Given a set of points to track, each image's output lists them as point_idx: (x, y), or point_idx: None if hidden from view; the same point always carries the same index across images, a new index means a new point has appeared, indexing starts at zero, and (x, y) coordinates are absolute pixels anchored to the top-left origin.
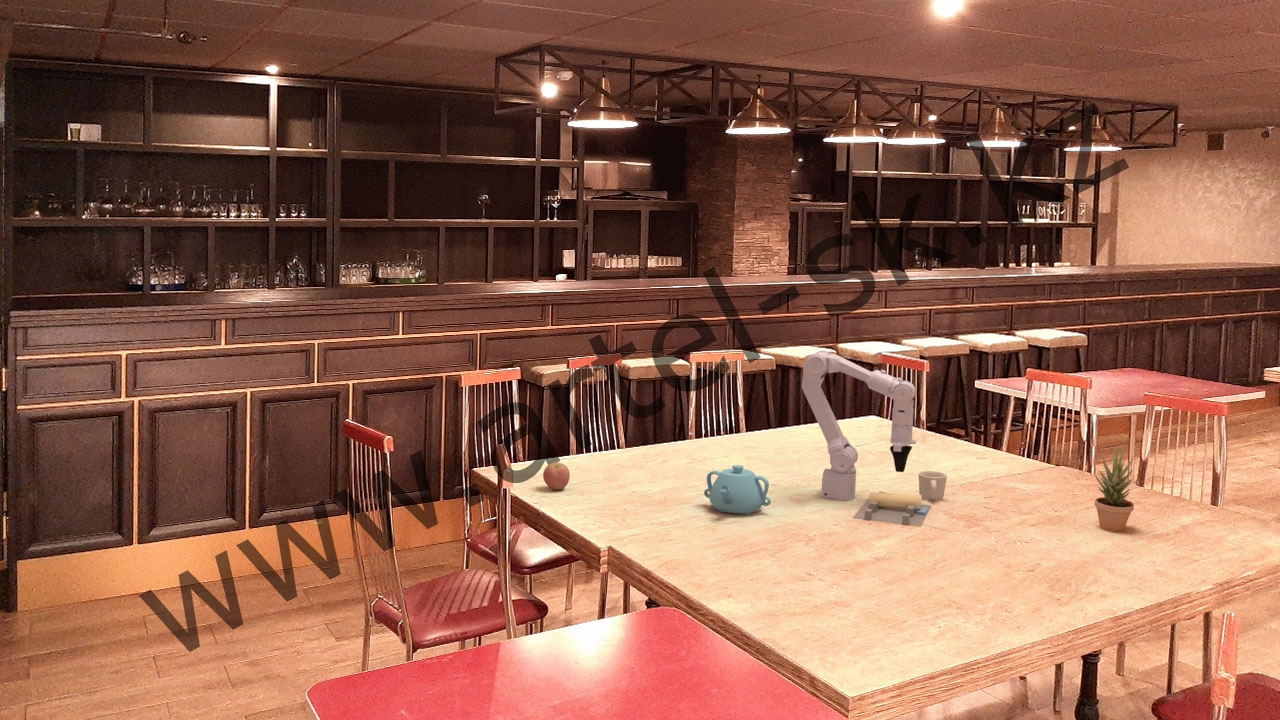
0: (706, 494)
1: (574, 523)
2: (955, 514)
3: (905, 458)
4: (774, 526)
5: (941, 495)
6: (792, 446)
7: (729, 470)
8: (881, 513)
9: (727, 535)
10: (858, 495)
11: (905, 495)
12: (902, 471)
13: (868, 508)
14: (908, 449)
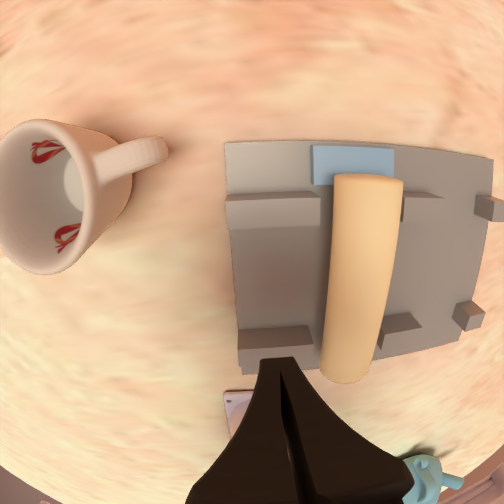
0: None
1: None
2: (257, 45)
3: (349, 429)
4: (474, 407)
5: (98, 132)
6: (5, 452)
7: None
8: (413, 295)
9: (498, 415)
10: (186, 394)
11: (388, 256)
12: (295, 363)
13: None
14: (361, 500)
